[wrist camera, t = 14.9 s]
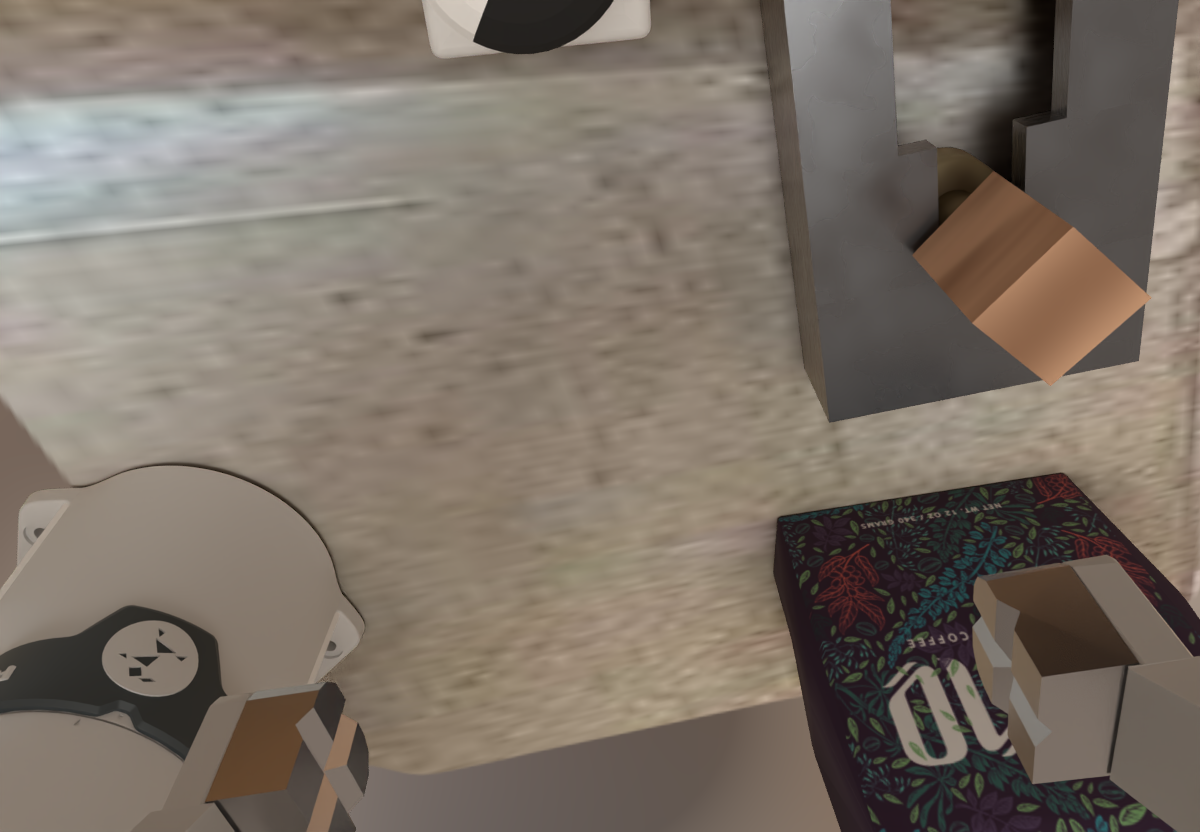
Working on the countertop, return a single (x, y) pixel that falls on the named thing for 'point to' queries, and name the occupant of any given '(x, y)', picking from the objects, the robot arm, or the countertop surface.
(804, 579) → the decorative box
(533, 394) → the countertop surface
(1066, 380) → the countertop surface
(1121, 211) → the keyhole plate
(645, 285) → the countertop surface
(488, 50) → the medicine bottle
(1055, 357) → the slider
